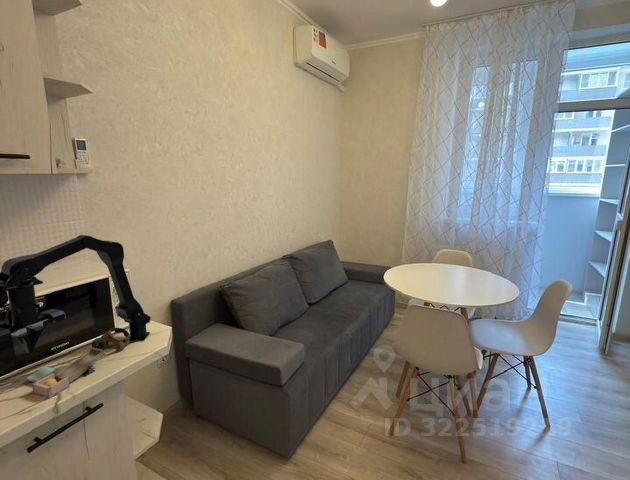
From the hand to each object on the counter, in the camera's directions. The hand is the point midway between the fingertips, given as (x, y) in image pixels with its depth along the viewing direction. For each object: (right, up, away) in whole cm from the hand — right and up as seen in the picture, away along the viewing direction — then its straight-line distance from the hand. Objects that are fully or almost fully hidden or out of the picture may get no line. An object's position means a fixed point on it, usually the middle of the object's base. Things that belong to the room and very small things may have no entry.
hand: (29, 352), depth 95 cm
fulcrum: (+12, -9, +7) cm, 16 cm away
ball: (+9, -8, -3) cm, 12 cm away
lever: (+7, -7, +6) cm, 12 cm away
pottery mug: (+11, -7, +21) cm, 24 cm away
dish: (+9, -10, -3) cm, 13 cm away
